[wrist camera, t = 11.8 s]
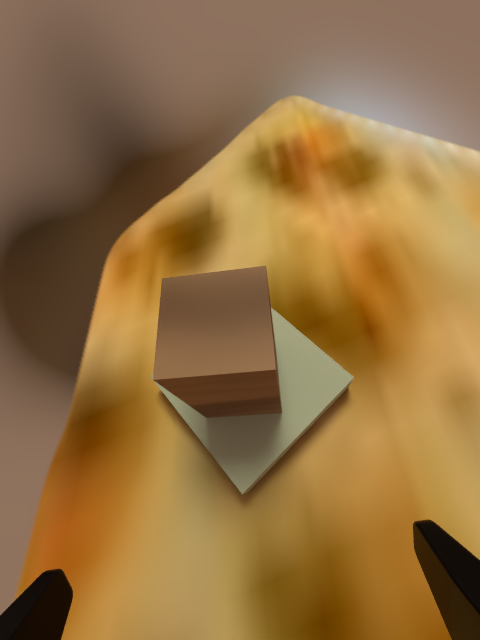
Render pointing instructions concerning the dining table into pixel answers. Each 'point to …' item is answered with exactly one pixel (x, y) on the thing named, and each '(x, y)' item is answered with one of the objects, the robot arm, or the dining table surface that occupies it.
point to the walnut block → (218, 343)
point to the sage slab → (278, 428)
